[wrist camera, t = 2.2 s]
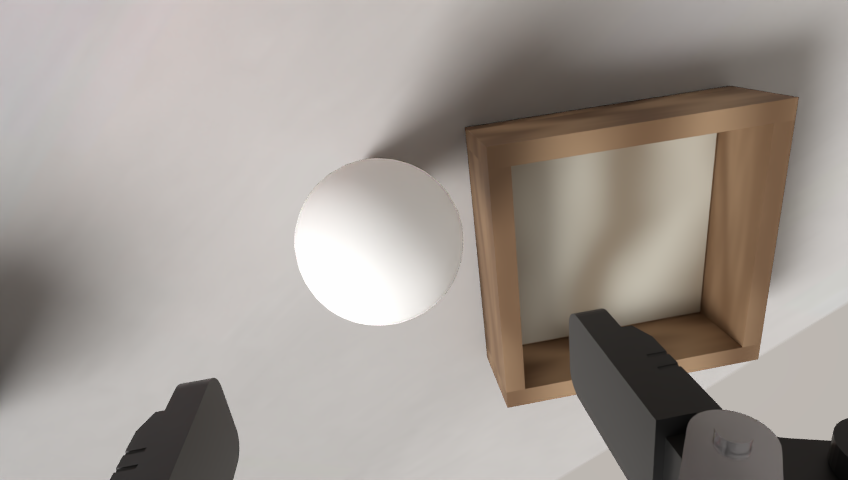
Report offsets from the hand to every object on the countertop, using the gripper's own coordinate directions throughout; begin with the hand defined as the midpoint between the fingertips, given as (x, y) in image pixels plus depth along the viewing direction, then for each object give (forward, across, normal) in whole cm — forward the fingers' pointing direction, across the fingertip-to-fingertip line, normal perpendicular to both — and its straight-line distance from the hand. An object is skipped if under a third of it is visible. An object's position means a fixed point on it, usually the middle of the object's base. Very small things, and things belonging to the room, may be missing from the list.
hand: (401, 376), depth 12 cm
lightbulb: (+16, 0, 0) cm, 16 cm away
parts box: (+16, -12, +5) cm, 20 cm away
